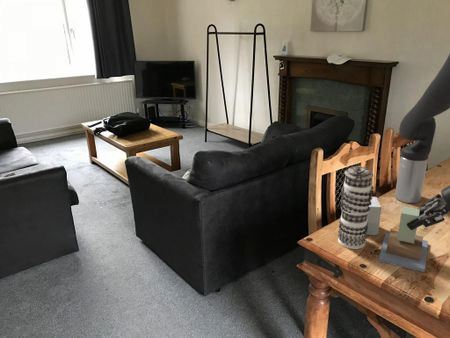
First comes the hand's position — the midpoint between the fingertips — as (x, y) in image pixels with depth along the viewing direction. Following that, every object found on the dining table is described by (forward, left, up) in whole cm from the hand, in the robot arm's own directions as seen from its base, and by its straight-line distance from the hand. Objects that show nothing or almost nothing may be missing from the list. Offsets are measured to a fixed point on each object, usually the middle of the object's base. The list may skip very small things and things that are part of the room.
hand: (409, 223), depth 106 cm
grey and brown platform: (0, 0, -10) cm, 10 cm away
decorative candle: (+1, -15, -10) cm, 18 cm away
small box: (-9, -12, -10) cm, 18 cm away
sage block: (0, 0, -5) cm, 5 cm away
